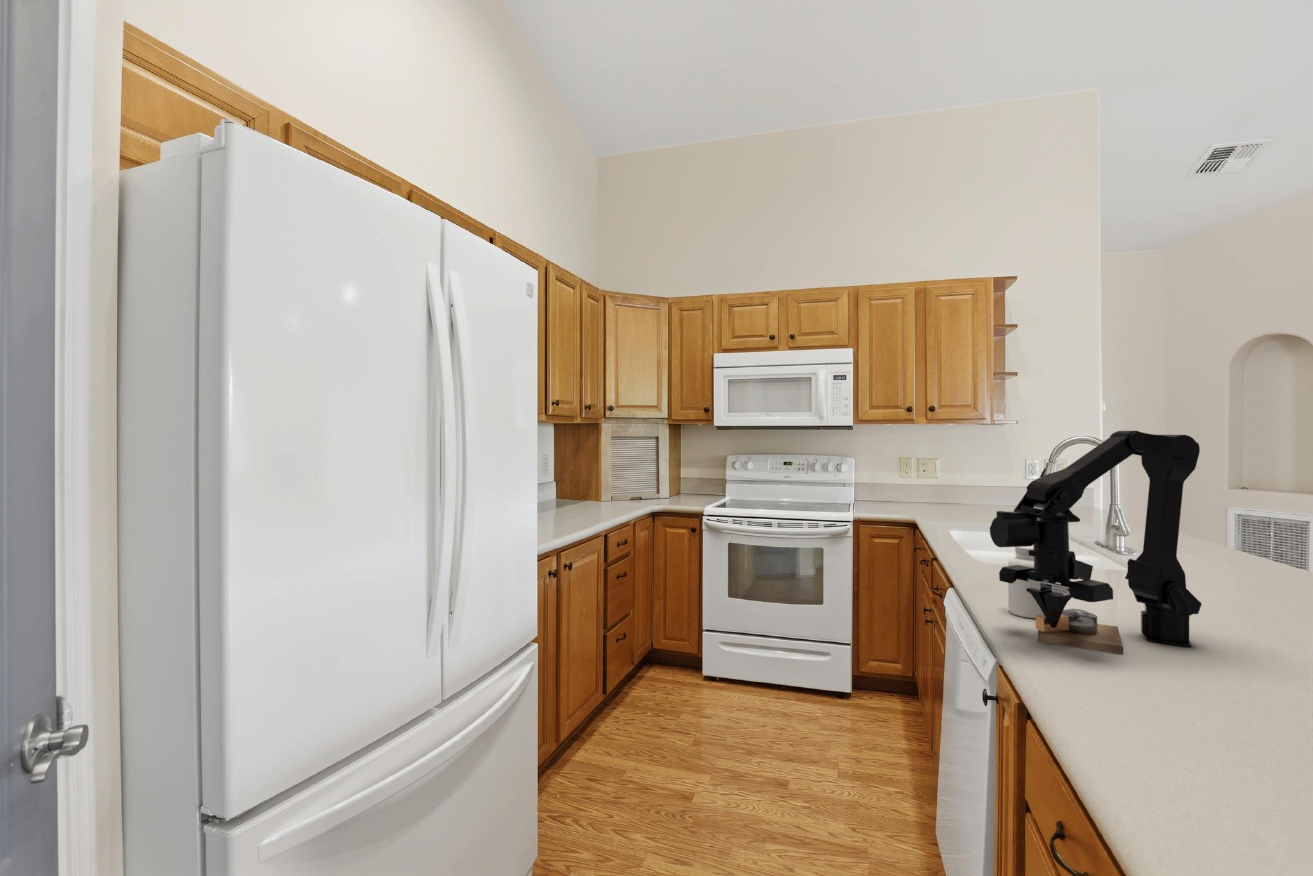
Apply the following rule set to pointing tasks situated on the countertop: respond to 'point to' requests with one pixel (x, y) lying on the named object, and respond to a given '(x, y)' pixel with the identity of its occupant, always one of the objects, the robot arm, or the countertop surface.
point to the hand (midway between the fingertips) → (1053, 627)
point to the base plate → (1087, 639)
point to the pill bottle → (1022, 587)
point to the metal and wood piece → (1070, 622)
